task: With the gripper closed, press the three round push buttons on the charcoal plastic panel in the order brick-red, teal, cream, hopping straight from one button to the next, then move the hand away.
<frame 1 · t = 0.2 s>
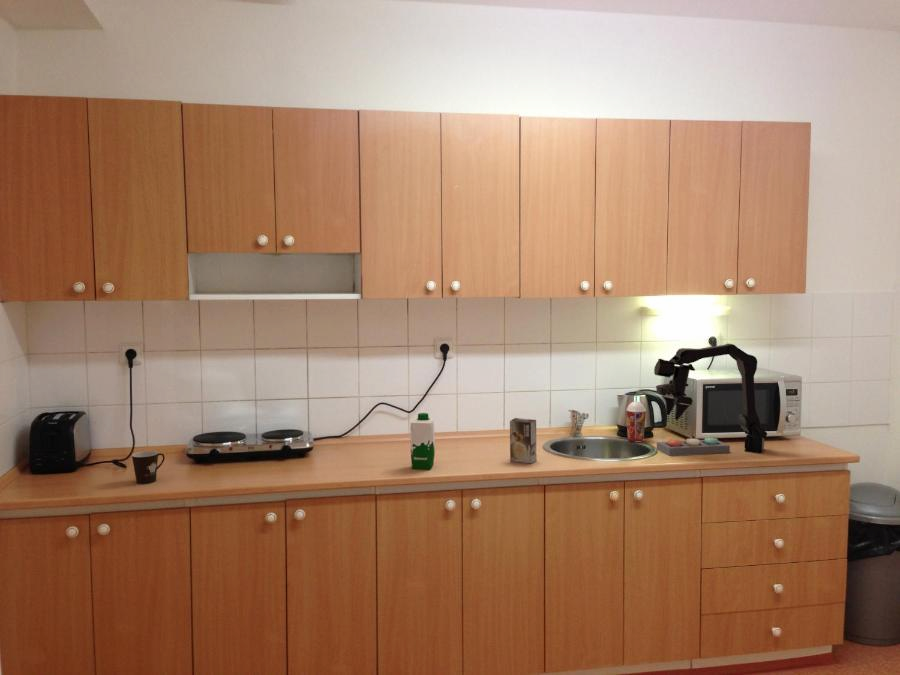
hand: (671, 417, 285), 14 cm above the counter, tool pointing down, fingers open, 9 cm apart
red button: (674, 443, 286), point 3 cm above the counter, slide at 0.0 cm
cream button: (692, 442, 287), point 4 cm above the counter, slide at 0.0 cm
smoothie: (635, 441, 306), on the counter
coffee box: (523, 461, 275), on the counter
teal button: (711, 441, 289), point 3 cm above the counter, slide at 0.0 cm
milk carton: (422, 467, 267), on the counter
coffee mug: (150, 481, 252), on the counter
button panel: (692, 451, 288), on the counter
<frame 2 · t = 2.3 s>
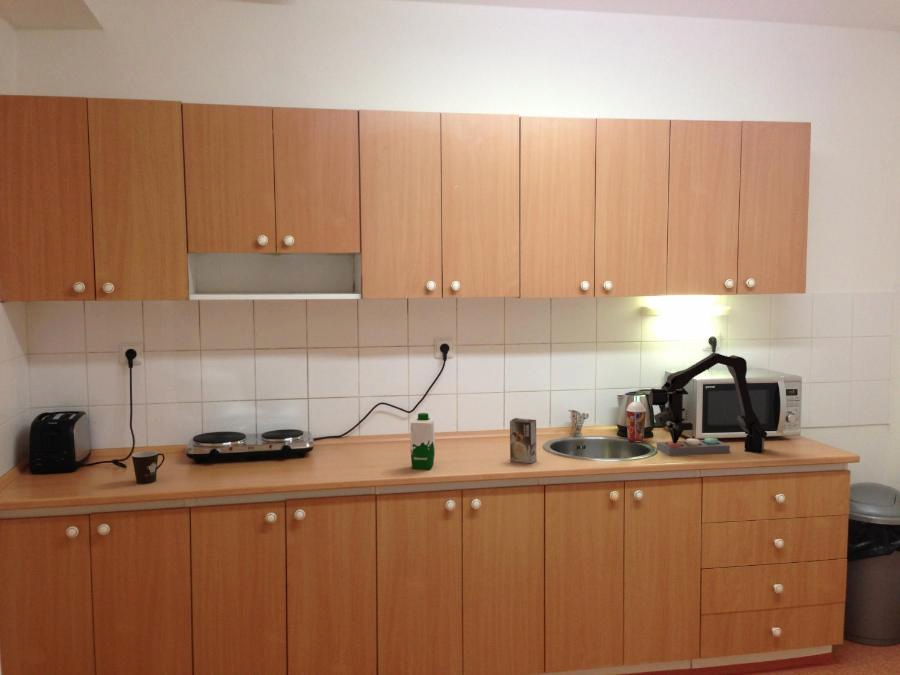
hand: (674, 443, 286), 4 cm above the counter, tool pointing down, fingers closed, pressing on red button
red button: (674, 445, 286), point 3 cm above the counter, slide at 1.0 cm, touching gripper
everything else where it was.
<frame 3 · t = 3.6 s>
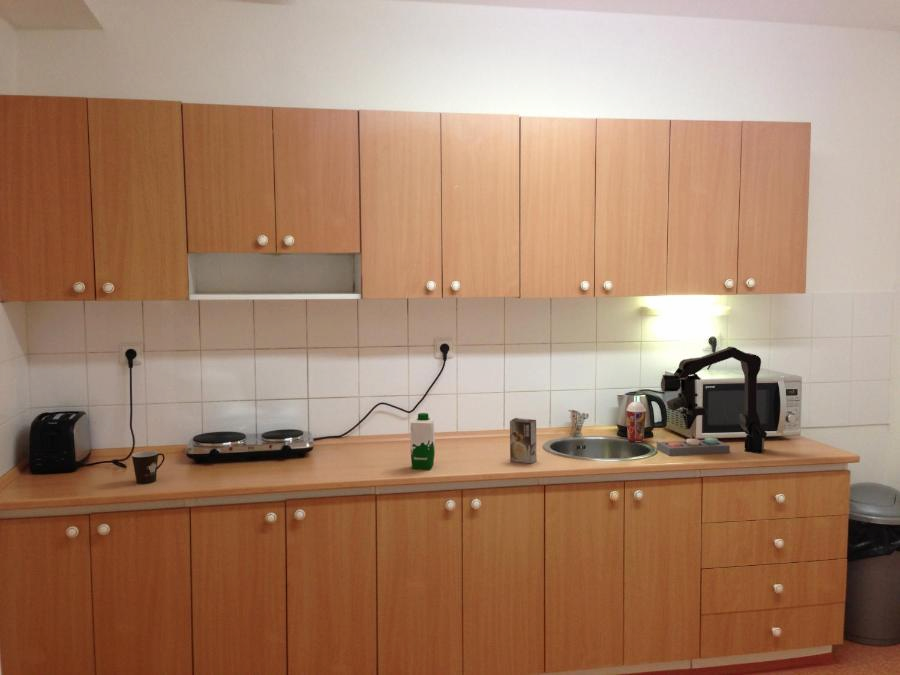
hand: (688, 428, 286), 9 cm above the counter, tool pointing down, fingers closed
red button: (674, 446, 286), point 2 cm above the counter, slide at 1.2 cm
everything else where it was.
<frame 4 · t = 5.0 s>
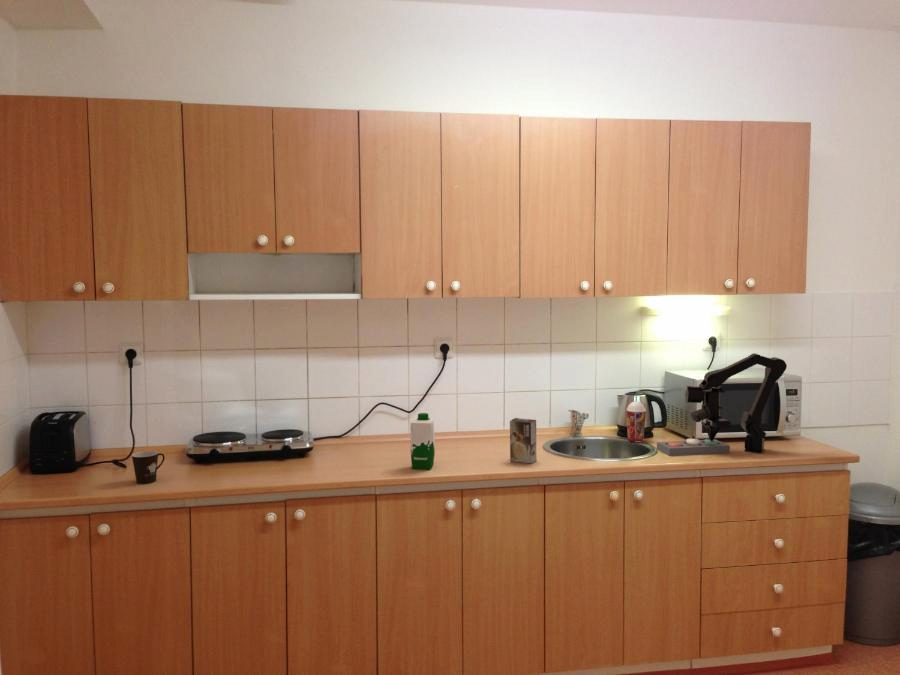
hand: (711, 440, 289), 4 cm above the counter, tool pointing down, fingers closed, pressing on teal button
teal button: (711, 443, 289), point 3 cm above the counter, slide at 0.7 cm, touching gripper
everything else where it was.
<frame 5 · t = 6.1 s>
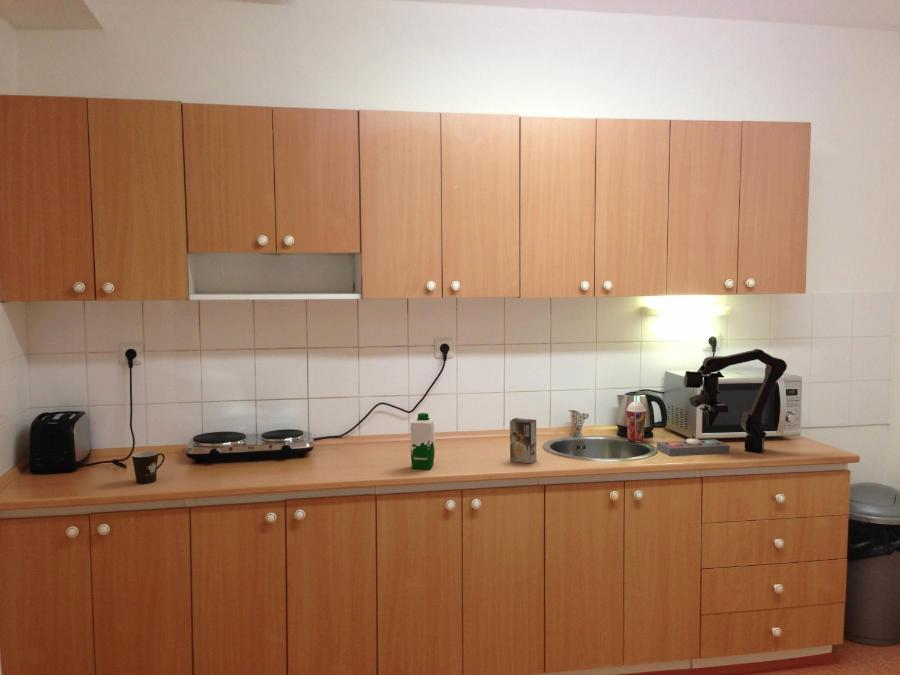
hand: (709, 425, 288), 10 cm above the counter, tool pointing down, fingers closed
teal button: (711, 444, 289), point 2 cm above the counter, slide at 1.2 cm
everything else where it was.
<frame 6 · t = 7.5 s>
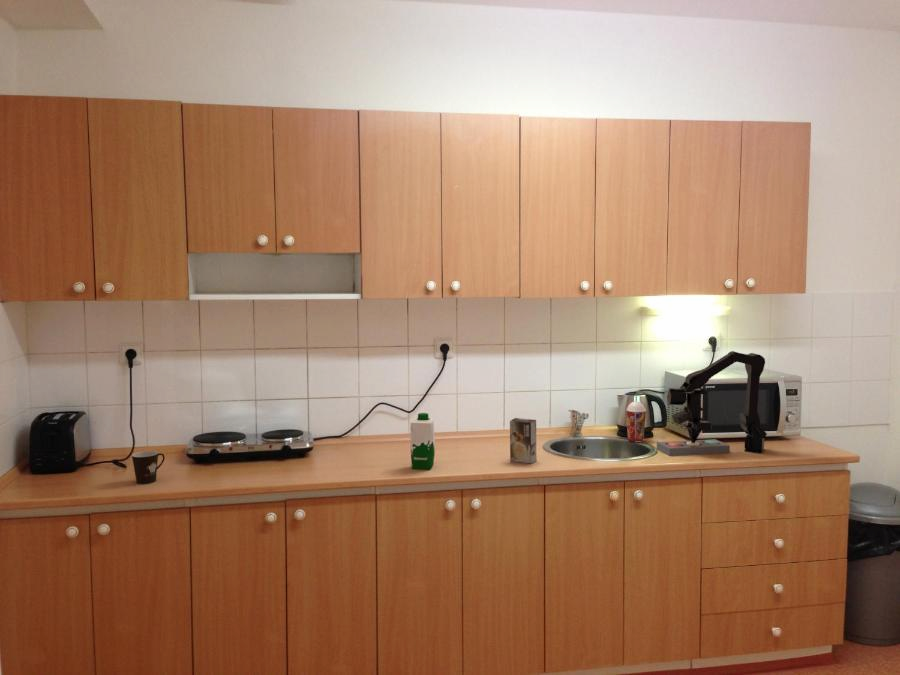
hand: (693, 442, 287), 3 cm above the counter, tool pointing down, fingers closed, pressing on cream button
cream button: (692, 445, 287), point 2 cm above the counter, slide at 1.2 cm, touching gripper
everything else where it was.
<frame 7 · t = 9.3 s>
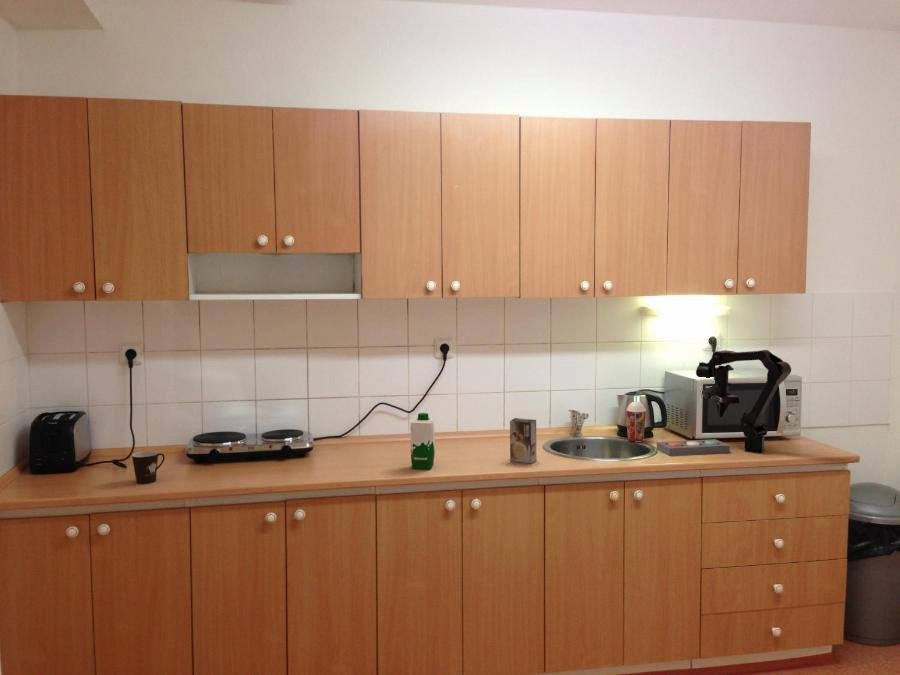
hand: (720, 416, 298), 12 cm above the counter, tool pointing down, fingers closed
cream button: (692, 445, 287), point 2 cm above the counter, slide at 1.2 cm
everything else where it was.
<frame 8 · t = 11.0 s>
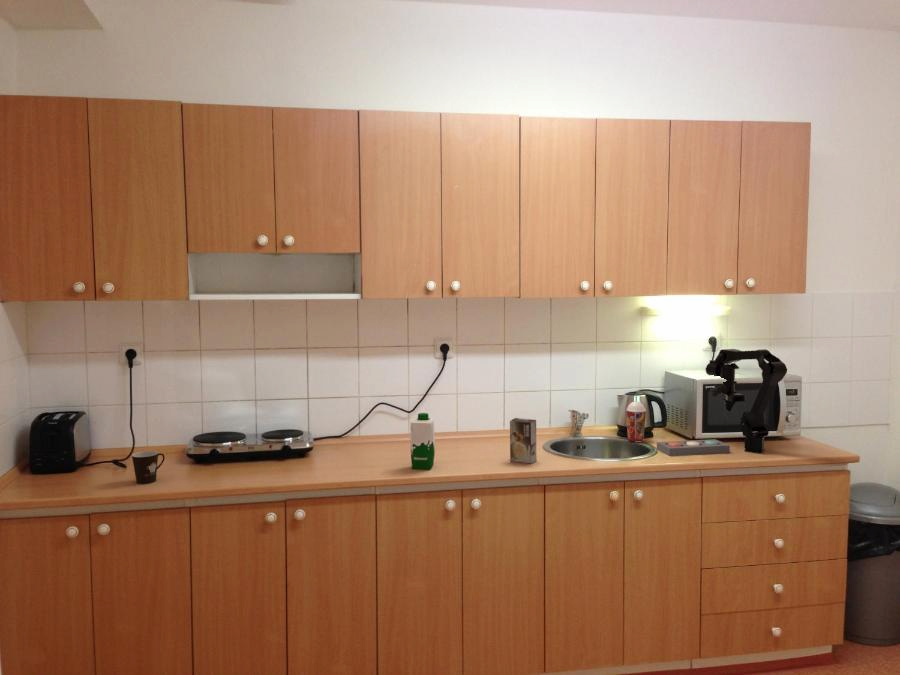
hand: (726, 414, 301), 12 cm above the counter, tool pointing down, fingers closed
nothing on the counter moved.
at the end: red button slide at 1.2 cm; teal button slide at 1.2 cm; cream button slide at 1.2 cm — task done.
